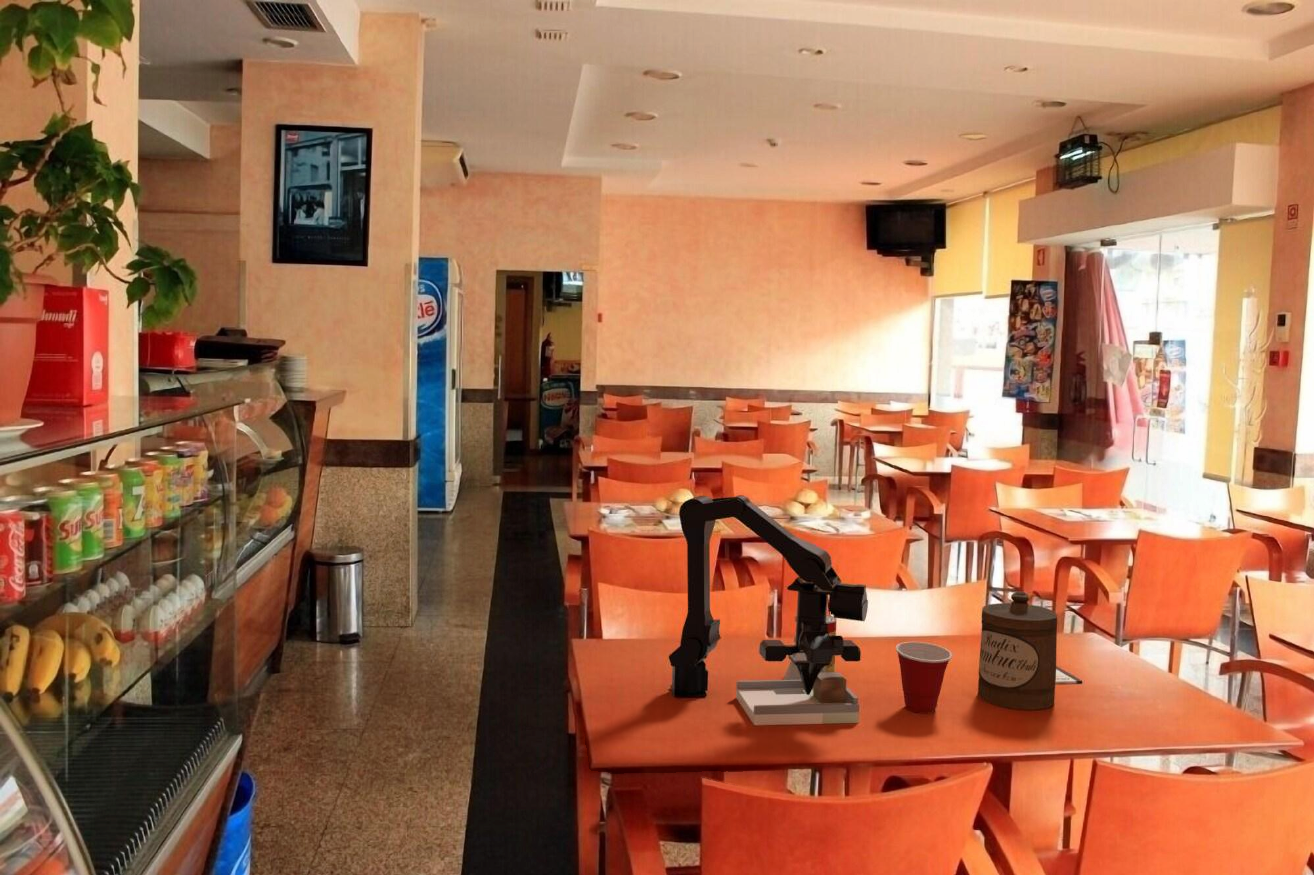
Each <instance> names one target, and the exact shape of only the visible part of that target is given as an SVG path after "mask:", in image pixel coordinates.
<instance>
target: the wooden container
mask: <svg viewBox="0 0 1314 875" xmlns="http://www.w3.org/2000/svg"><path fill="white" fill-rule="evenodd" d="M1010 598H1011V601H1012V602H1011V603H1010V602H1006V603H1005V602H1003V603H990V604H986V605H984V606H982V609H981V632H980V636H981V637H980V648H979V660H978V682H977V683H978V687H977V695H978V697H979V698H980V699H982V700H983V701H984V702H986V703H988V702H989V703H988V704H991V705H994V706H997V705H998V706H997V707H1002V708H1005V707H1006V709H1012V710H1022V711H1023V710H1025V711H1028V710H1029V711H1034V710H1035V711H1037V710H1043V709H1047V708H1051V707H1053V705H1055V699H1056V696H1055V695H1056V684H1055V682H1056V666H1057V643H1058V642H1057V641H1058V640H1057V639H1058V638H1057V637H1058V634H1057V633H1058V613H1057V612H1056V611H1054V610H1052V609H1050V608H1046V607H1043V606H1038V605H1035V604H1034V605H1033V604H1029V603H1028V602H1029V600H1030V595H1029V594H1028V593H1026V592H1024V591H1022V590H1021V591H1020V590H1019V591H1015V592H1014V593H1012V594H1011V595H1010Z"/></svg>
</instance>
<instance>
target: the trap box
mask: <svg viewBox="0 0 1314 875" xmlns="http://www.w3.org/2000/svg"><path fill="white" fill-rule="evenodd" d="M813 688H814V685H813ZM813 688H812V690H811V693H810V695H807V694H806V693H805V690H804V687H803V683H802V680H784V679H767V680H766V679H764V680H763V679H760V680H759V679H758V680H757V679H756V680H755V679H754V680H736V688H735V689H736V692H735V693H736V694H735V698H736V700H737V701H738V703H739V705H740V707H741V708H742V709H743V710H744V712H745V714H746V715H747V717H748V718H749V719H750V721H751V723H752V724H753V725H754V726H778V725H780V726H782V725H815V724H816V725H819V724H821V725H823V724H826V725H827V724H858V723H859V719H860V704H859V697H858V696H857V695H856V694H855V693H853V691H852V690H851V689H850V688H849V687H848V686H847V685H846V703H820V702H819V701H818V700H817V699H816V698H815V697H814V695H813Z"/></svg>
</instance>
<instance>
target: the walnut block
mask: <svg viewBox="0 0 1314 875" xmlns="http://www.w3.org/2000/svg"><path fill="white" fill-rule="evenodd" d="M846 686H847V679H846V678H845V676H843V675H842V674H841V673H840V672H838V671H837V672H836V671H835V672H827V673H819V674H818V676H817V678H816V681H815V683H814V688H813V695H814V697H815V698H816V699H817V700H818V701H819V702H820V703H846Z"/></svg>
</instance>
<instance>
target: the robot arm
mask: <svg viewBox="0 0 1314 875" xmlns="http://www.w3.org/2000/svg"><path fill="white" fill-rule="evenodd" d="M678 514H679V515H678V516H679V520H680V527H681V531H682V534H683V536H684V539H685V540H686V541H685V542H686V549H687V550H686V554H687V556H686V558H687V560H686V561H687V562H686V563H687V564H686V566H687V567H686V568H687V575H686V576H687V578H686V579H687V582H686V583H687V613H686V614H687V615H686V618H685V620H684V624H683V627H682V630H681V635H680V636H681V637H680V641H679V642H680V644H679V646H678V647H677V648H676V649H675V650H674V651H673V652H671V653H670V654H669V655H668V659H669V663H670V666H671V668H672V675H671V681H672V682H671V685H670V686H669V688H670V690H671V692H672V694H673V696H674V697H675V698H676V697H677V698H685V697H686V698H689V697H698V698H699V697H707V696H708V695H707V694H708V693H707V691H708V687H709V686H708V684H709V670H708V669H707V668H706V667H707V665H706V663H705V660H706V659H707V657H708V655H709V653H711V652H712V651H713V650H715V648H716V647H717V645H718V642H719V641H720V640H721V639H722V636H721V635H720V627H721V619H719V618H716V619H714V617H713V615H712V613H711V594H710V593H711V589H710V588H711V580H710V579H711V576H710V574H711V570H710V568H711V566H710V564H711V561H710V556H711V555H710V553H711V552H710V551H711V550H710V545H711V544H710V542H711V538H712V535H713V532H714V528H715V525H716V521H718V520H722V519H723V520H724V519H729V518H735V519H736V520H737V521H739V522H740V523H742V525H744V526H745V527H747V528H748V529H749V530H750V531H752V532H753V533H754V534H755V535H757V536H758V537H759V538H761V540H763V541H764V542H765V543H767V544H768V545H770V546H771V547H772V548H773V549H774V550H776V551H777V552H778V553H780V555H781V556H782V557H783V558H784V559H785V561H786V563H787V564H788V566H789V567H790V568H791V569H792V571H793V572H794V573H795V574H796V575H797V577H796V578H795V579H794V580H793V582H792V583H791V584H789V585H788V586H787V587H786V590H787V591H794V592H797V603H796V616H795V617H794V618H795V619H794V620H795V621H794V622H795V623H796V624H795V634H796V637H795V636H794V639H793V640H794V641H793V642H794V644H795V645H793V644H789V645H788V644H784V642H782V640H780V639H762V641H760V644H759V651H758V652H759V655H760V656H761V657H762V658H763V660H764V661H765V662H784V660H785V659H786V658H788V659H789V660H790V662H791V661H792V662H793V664H794V665H796V666H797V669H798V671H799V674H800V677H801V680H802V683H803V687H804V690H805V693H806V694H807V695H810V693H811V690H812V688H813V685H814V683H815V681H816V678H817V676H818V674H819V673H820V671H821V669H822V668H823V667H825V666H826V665H830V663H831V662H832V658H833V655H835V656H840V657H841V659H843V660H844V662H861V655H862V654H861V652H862V651H861V648H860V647H859V646H858V644H856V643H855V642H853V641H852V640H851V639H844V637H843V635H836V636H829V633H828V624H827V623H826V618H827V615H828V614H827V613H828V612H829V613H830V615H831V616H832V615H833V617H834V618H836V619H840V620H841V619H842V620H848V621H849V620H850V621H857V622H865V621H866V618H867V614H868V609H869V607H868V606H869V600H868V594H867V590H866V589H867V585H865V584H860V583H859V584H858V583H857V584H853V583H852V584H850V583H842V580H841V578H840V577H839V575H838V573H837V572H836V571H835V569H834V567H833V566H832V556H831V555H830V554H829V552H828V551H827V550H824V549H823V548H822V547H819V546H817V545H816V544H814V543H813V542H810V541H807V540H804V539H802V538H799V537H797V536H796V535H795V534H793V533H792V532H790V531H789V530H788V529H787V528H785V527H784V526H783V525H781V524H780V523H779V522H778V521H776V520H775V519H774V518H773V517H772V516H770V515H769V514H767V513H766V512H765V511H764V510H762V509H761V508H759V507H758V506H757V505H756V504H754V503H753V502H752V501H751V500H750V498H748V497H747V496H746V495H744V494H743V495H742V494H738V495H735V496H730V497H727V496H726V497H718V498H717V497H716V498H711V497H710V496H707V495H697V496H694V497H692V498H689V499H687V500H684V502H683V503H682V504H681V505H680V507H679V512H678ZM800 650H804V651H800ZM787 656H788V657H787Z"/></svg>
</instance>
